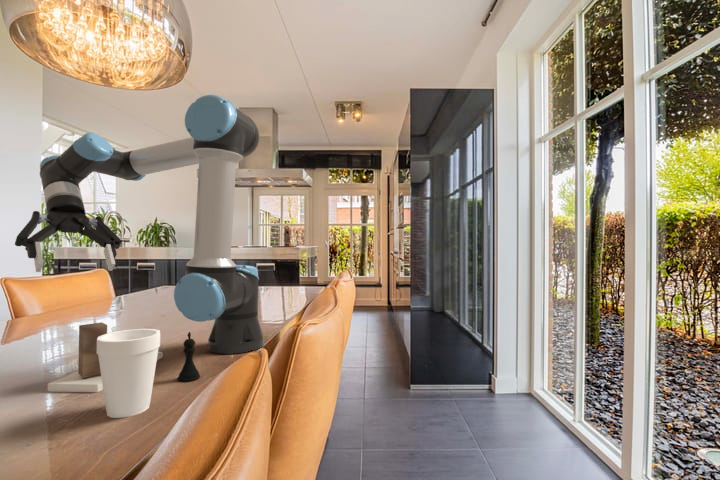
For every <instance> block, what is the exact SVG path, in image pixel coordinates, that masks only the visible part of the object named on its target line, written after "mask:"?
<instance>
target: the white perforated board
mask: <svg viewBox="0 0 720 480" xmlns="http://www.w3.org/2000/svg"><path fill="white" fill-rule="evenodd" d="M163 356H164V355H163V351H158V355H157V361H159V360H161V359H163ZM101 391H103V385H102V378H101V374H99V375H95V376H90V377H86V378H82V377H81V376H80V375H79V374H78V371H75V372H72V373H70V374H67V375H66V376H63V377H61V378H58V379H55V380H53V381H51V382H49V383H47V392H52V393H53V392H54V393H55V392H56V393H57V392H58V393H63V392H64V393H99V392H101Z"/></svg>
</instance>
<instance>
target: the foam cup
mask: <svg viewBox="0 0 720 480" xmlns="http://www.w3.org/2000/svg"><path fill="white" fill-rule="evenodd" d="M160 346H161V330H159V329H155V328H133V329H125V330H124V329H123V330H118V331H117V330H115V331H113V332H107V334H104V335H102V336H99V337H98V338H97V354H98V357H99V364H100V371H101V378H102V385H103V390H102V391H103V398H104V404H105V411H106V416H107V417H109V418H112V419H121V418H122V419H123V418H130V417H132V416H133V417H134V416H136V415H137V416H138V415H139V414H142V413H144V412H146V411H147V410H148V409H149V408H150V404H151V401H152V393H153V386H154V380H155V374H156V367H157V362H158V360H157V355H158V352H159V348H160Z"/></svg>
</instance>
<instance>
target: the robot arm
mask: <svg viewBox="0 0 720 480" xmlns="http://www.w3.org/2000/svg"><path fill="white" fill-rule="evenodd" d="M184 126H185V129H186V131H187V132H188V134H189V136H190V137H186V138H182V139H178V140H175V141H168V142H165V143H164V142H163V143H161V144H160V143H159V144H156V145H151V146H147V147H142V148H138V149H133V150H129V151H119V150H116V149H114V148H113V146H112V145H111V143H109V141H107V140H106V139H105V138H103V137H102V136H100V135H99V134H97V133H95V132H87V133H85V134H83V135H82V136H80V137H79V138H77V139H76V140H75V141H73V143H72V144H71V145H69V147H67V148H66V150H64V151H63V152H62V153H61V154H60V155H51V156H47V157H44V158H43V159H42V160H41V161H40V163H39V170H40V171H39V176H40V179H41V184H42V191H43V194H44V195H43V196H44V201H45V202H44V203H45V207H46V214H42V213H40V211H37V210H34V211H33V212H32V214H31V218H30V220H29V221H28V222H27V223H26V225H25V226H24V227H23V228H22V230H21V231H20V232H19V233H18V235H17V236H16V238H15V242H14V245H15V246H16V247H21V246H22V247H25V248H24V249H25V251H26V253H27V258H28V259H33V260H34V265H35V266H34V267H35V273H41V271H42V270H43V266H44V260H43V254H42V247H41V246H42V245H41V243H42V242H43V241H44V240H46V239H47V238H49V237H50V236H51V235H54V234H56V233H57V232H61V233H62V234H63V233H64V234H65V233H71V234H80V235H81V236H83V237H85V236H86V237H87V238H89V239H90V240H92V242H95V243H96V244H97V245H99V246H101V247H102V248H104V250H103V254H104V258H105V263H106V265H107V270H108V271H109V272H112V271H113V270H114V268H115V266H116V260H115V259H116V257H117V255H118V253H117V250H118V249H120V247H121V245H122V243H123V241H122V239H121V238H120V237H119V236H118V235H116V233H115V232H114V231H112V229H111V228H110V227H108V225H107V224H106V223H104V220H103V218H102V217H101V216H100V215H99V216H96V217H95V218H89V217H88V216H87V214H86V210H85V205H84V202H83V196H82V192H81V188H80V183H81V182H82V181H84V180H85V179H86V178H87V177H88V176H89V175H91V174H92V173H97V174H98V173H99V174H102V175H106V176H107V175H108V176H111V177H115V178H118V179H122V180H125V181H134V182H135V181H136V182H137V181H141V180H142V179H144V178H145V177H146V175H151V174H154V173H155V174H156V173H159V172H164V171H169V170H173V169H178V168H184V167H189V166H194V165H198V177H197V193H196V194H197V195H196V206H195V207H196V209H195V210H196V211H195V225H194V226H195V227H194V239H193V240H194V242H193V257H192V258H191V259H190V260H188V262H187V263H186V264H185V275H183V276H182V277H181V278H180V280H178V281H177V283H176V285H175V286H174V290H173V299H174V300H173V301H174V303H175V306H176V308H177V309H178V311H179V312H181V314H182V316H184V317H185V318H186V319H188V320H191V321H193V322H200V323H201V322H202V323H203V322H207V321H213V325H212V328H211V331H210V334H209V337H208V340H207V351H208V352H210V353H213V354H214V353H215V354H224V355H225V354H226V355H227V354H228V355H231V354H240V353H247V352H248V351H249V352H253V351H256V350H258V349H261V348H262V347H263V346H264V343H265V336H264V333H263V330H262V326H261V323H260V321H259V310H258V309H259V281H260V278H259V270H258V268H257V267H256V266H253V265H248V264H247V265H245V264H244V265H243V264H236V263H235V262H234V260H232V258H231V255H232V238H233V237H232V236H233V224H234V206H235V205H234V203H235V193H236V192H235V189H236V174H237V173H236V172H237V164H238V163H240V162H241V161H243V159H245V158H246V157H249V156H250V155H252V154H253V153H254V152H255V151H256V150H257V147H258V146H259V142H260V132H259V128H258V126H257V124H256V122H254V120H253V119H252V118H251V117H250V116H248V115H246V114H245V113H244V112H243V111H241V110H240V109H238V108H237V107H236V106H235V105H234V104H233V103H232V102H231V101H229V100H226V99H225V98H224V97H222V96H219V95H216V94H207V95H203V96H200V97H198V98H196V100H195V101H194V102H192V103H191V104H190V105H189V107H188V108H187V110H186V113H185V114H184ZM44 221H45V222H46V223H47V225H46V226H45V227H43V228H42V229H40V230H39V231H37V232H36V233H35V234H33V235H32V236H30V235H31V234H32V233H33V231H35V229H36V228H37V227H38V225H40V224H41V223H43V222H44ZM251 350H252V351H251Z"/></svg>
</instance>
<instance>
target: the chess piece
mask: <svg viewBox="0 0 720 480" xmlns="http://www.w3.org/2000/svg"><path fill="white" fill-rule="evenodd" d="M191 334H192V333H191V332H190V331H189V332H188V333H187V337H188V338H187V339H185V340H184V342H183V343H182V344H183V346H184V347H183V348H184V349H183V350H182V351H183V353H184V356H185V361H184V365H183V366H182V369H181V371H180V372H179V374H178V377H177V382H179V383H190V382H194V381H197V380H199V379H200V378H201V374H200V371H199V370H198V369H197V367H196V365H195V362H194V361H193V360H194V359H193V358H194V353H195V351H196V348H195V345H196V341H195V340H194V339H193V338H191Z"/></svg>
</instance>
